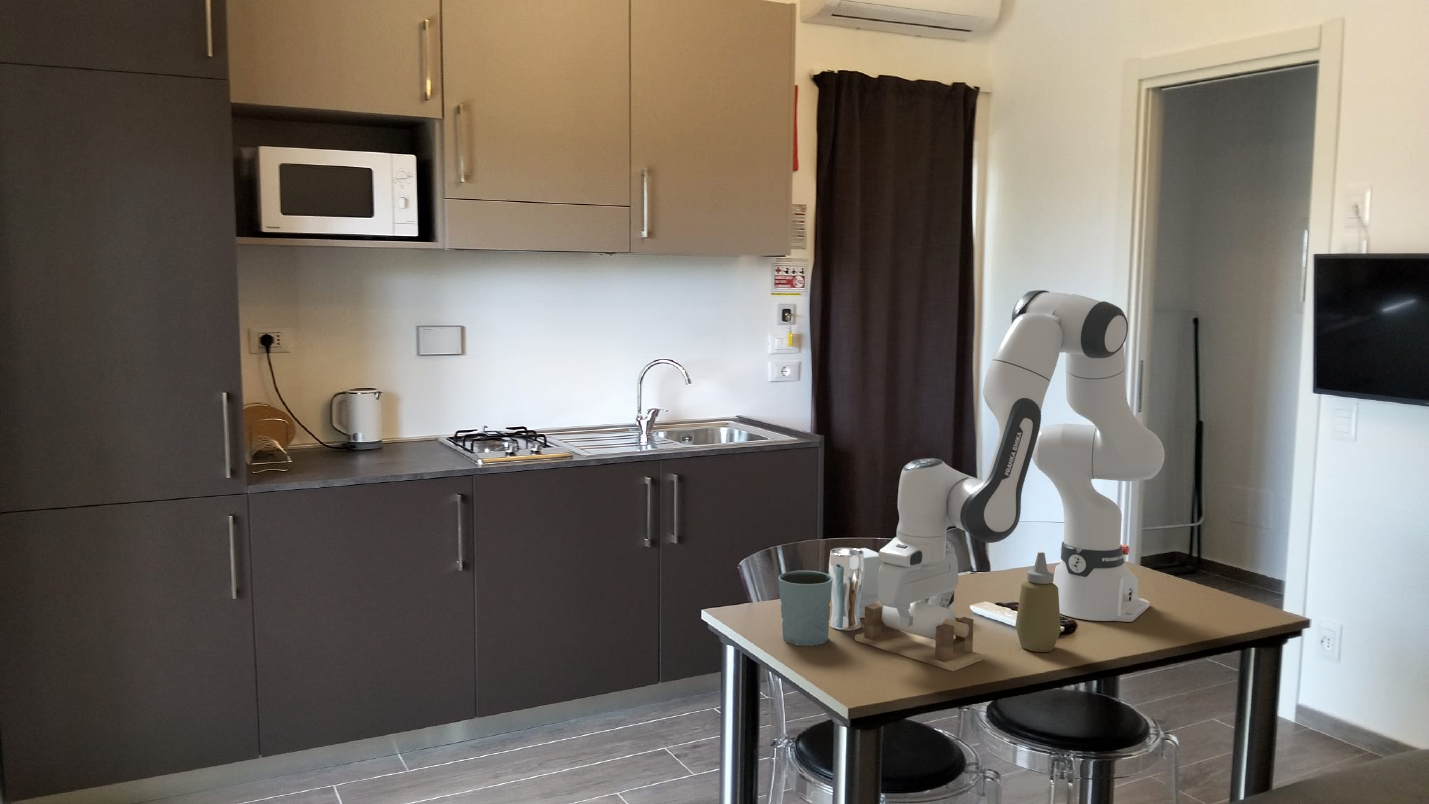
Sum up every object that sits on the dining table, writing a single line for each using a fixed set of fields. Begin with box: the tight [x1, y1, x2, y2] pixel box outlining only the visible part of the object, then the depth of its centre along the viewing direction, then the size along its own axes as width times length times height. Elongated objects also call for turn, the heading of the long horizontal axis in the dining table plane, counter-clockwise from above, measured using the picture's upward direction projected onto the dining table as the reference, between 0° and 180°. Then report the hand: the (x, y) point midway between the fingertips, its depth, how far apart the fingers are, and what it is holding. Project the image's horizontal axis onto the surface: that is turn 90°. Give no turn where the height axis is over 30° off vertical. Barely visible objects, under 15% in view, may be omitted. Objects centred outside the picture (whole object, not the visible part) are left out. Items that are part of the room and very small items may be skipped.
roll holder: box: [854, 604, 983, 672], centre depth 194 cm, size 22×9×7 cm, turn 43°
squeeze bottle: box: [1015, 551, 1062, 653], centre depth 195 cm, size 8×8×18 cm
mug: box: [920, 590, 955, 613], centre depth 216 cm, size 10×7×7 cm
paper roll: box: [872, 600, 969, 641], centre depth 193 cm, size 20×6×6 cm, turn 43°
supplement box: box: [858, 547, 883, 619], centre depth 216 cm, size 7×7×13 cm
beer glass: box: [828, 547, 865, 632], centre depth 207 cm, size 7×7×15 cm
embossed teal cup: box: [777, 570, 833, 647], centre depth 199 cm, size 10×10×12 cm
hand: (918, 621), depth 193 cm, fingers closed on paper roll, 6 cm apart
